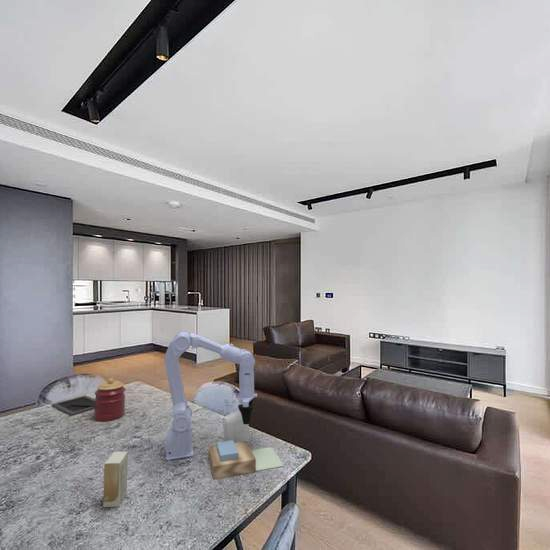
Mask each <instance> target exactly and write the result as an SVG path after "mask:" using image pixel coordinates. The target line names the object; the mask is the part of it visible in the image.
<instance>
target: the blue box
mask: <svg viewBox="0 0 550 550" xmlns="http://www.w3.org/2000/svg"><path fill="white" fill-rule="evenodd" d="M216 446H217V452H218V455H219V458H220V462H222V461H228V460H235V459H238V456H239V453H238V450H237V448H236V445H235V443H234V441H233V440H231V441H225V442H224V441H218V442H216Z"/></svg>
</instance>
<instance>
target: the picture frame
mask: <svg viewBox="0 0 550 550" xmlns="http://www.w3.org/2000/svg"><path fill="white" fill-rule="evenodd" d="M94 400H95V398H93V397H91V396H87V395H81V396H77V397H73V398H70V399H66V400H63V401H62V400H61V401H58V402H55V403H51V407H52V408H55V409H56V410H58V411H60V412H62V413H64V414H66V415H68V416H69V417H73V416H76V415H80V414H83V413H87V412H90V411H92V410H94V409H95V401H94Z"/></svg>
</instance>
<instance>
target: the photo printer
mask: <svg viewBox="0 0 550 550" xmlns="http://www.w3.org/2000/svg"><path fill="white" fill-rule="evenodd" d="M222 425H223V442H225V441H231V440H233V441H234V443H237V442H244V441H247V443H249V442H250V427H249V425H250V423H249V424H243V420H242V415H241V412H240V410H237V411H236V410H235V411H234V412H231V413H229V414H227V415H225V416H224V417H223V419H222Z"/></svg>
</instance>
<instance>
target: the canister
mask: <svg viewBox="0 0 550 550" xmlns="http://www.w3.org/2000/svg"><path fill="white" fill-rule="evenodd" d="M96 388H97V389H96V390H95V391H94V395H95V398H94V399H95V400H94V401H95V409H94V412H93V417H94V420H95V421H98V422H109V421H115V420H117V419H121V418H122V417H124V415H125V412H126V411H125V410H126V405H125V403H126V394H125V391H126V387H125V383H123V382H122V381H120V380H115V378H113V377H110V378H108V379H107V381H104V382H101V383H100V384H98V385H97V386H96Z"/></svg>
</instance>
